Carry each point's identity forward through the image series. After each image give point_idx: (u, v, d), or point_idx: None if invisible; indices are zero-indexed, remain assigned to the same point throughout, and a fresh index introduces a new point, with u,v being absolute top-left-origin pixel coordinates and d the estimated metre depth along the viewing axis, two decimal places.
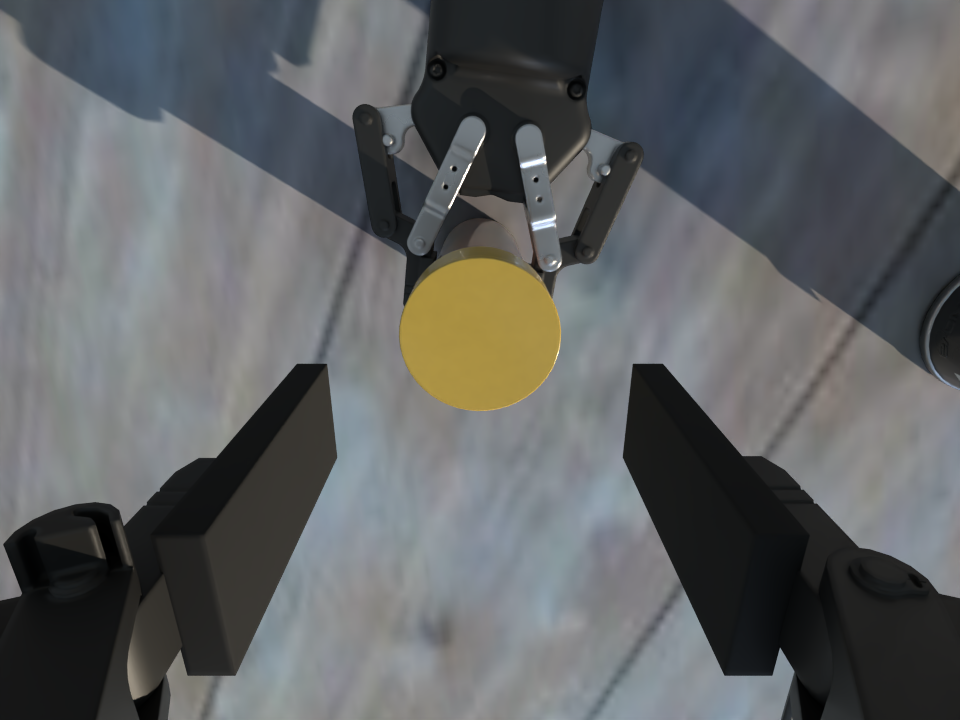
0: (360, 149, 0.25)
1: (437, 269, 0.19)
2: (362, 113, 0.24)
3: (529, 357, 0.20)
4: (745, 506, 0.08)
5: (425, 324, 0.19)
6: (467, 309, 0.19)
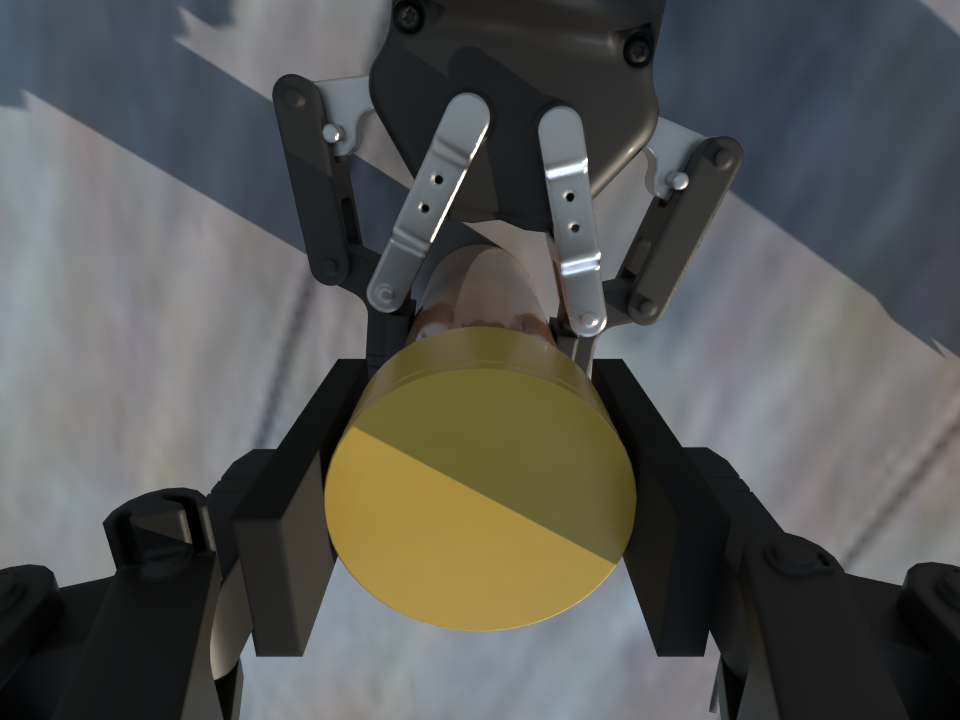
0: (287, 148, 0.16)
1: (394, 390, 0.09)
2: (287, 89, 0.15)
3: (574, 545, 0.10)
4: (674, 493, 0.08)
5: (373, 490, 0.10)
6: (455, 463, 0.10)
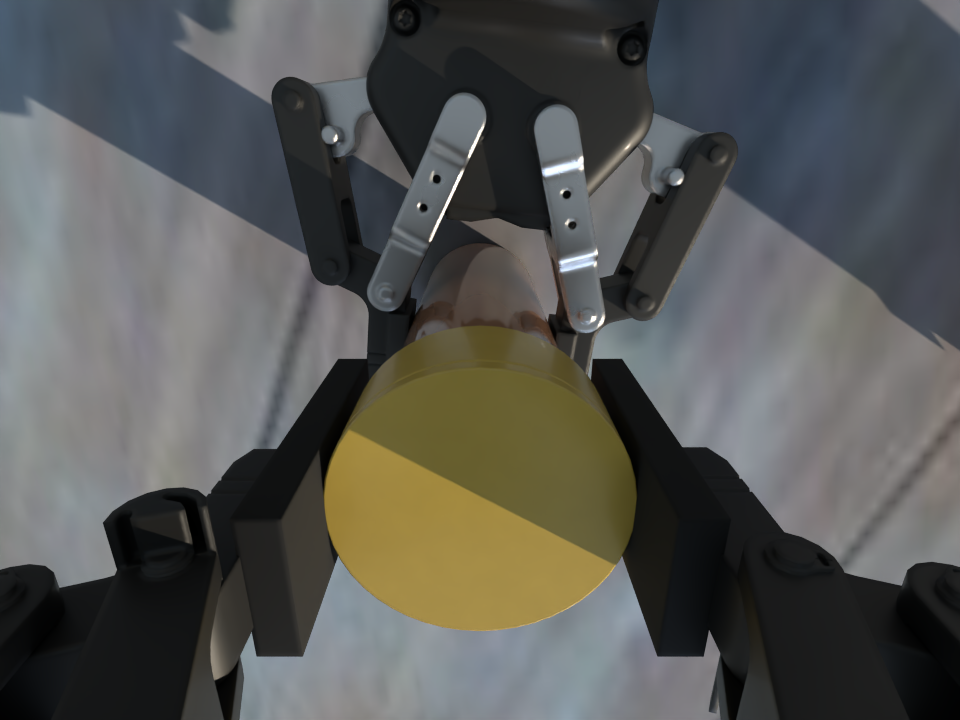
0: (287, 150, 0.16)
1: (447, 624, 0.11)
2: (286, 92, 0.15)
3: (434, 429, 0.09)
4: (674, 492, 0.08)
5: (532, 586, 0.11)
6: (457, 560, 0.11)
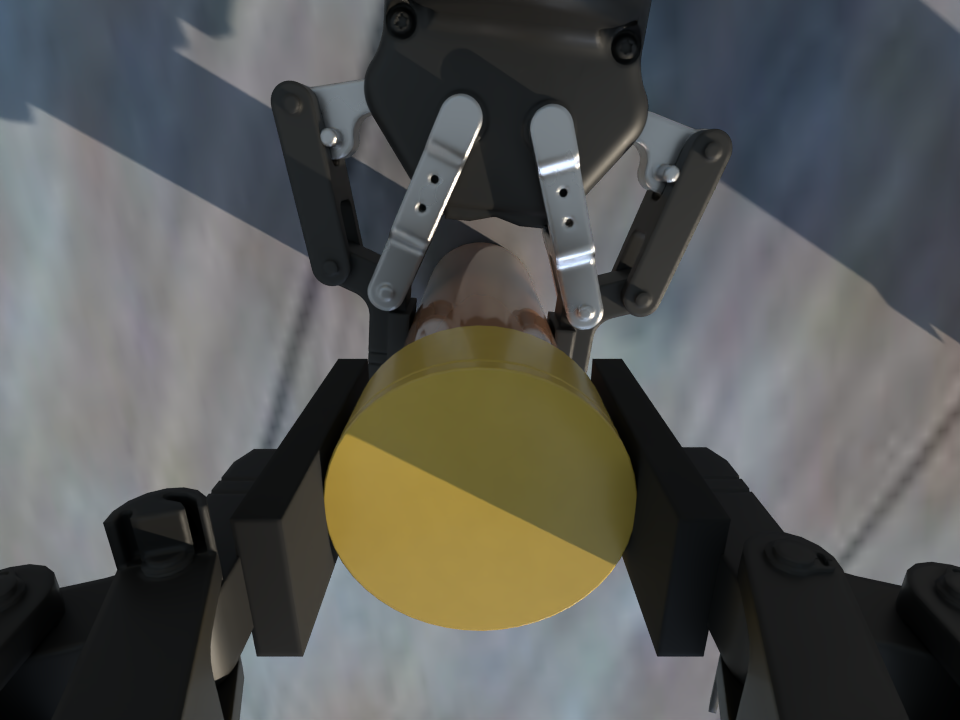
0: (286, 153, 0.16)
1: (617, 436, 0.10)
2: (285, 95, 0.15)
3: (447, 589, 0.11)
4: (674, 492, 0.08)
5: (506, 418, 0.09)
6: (538, 491, 0.10)
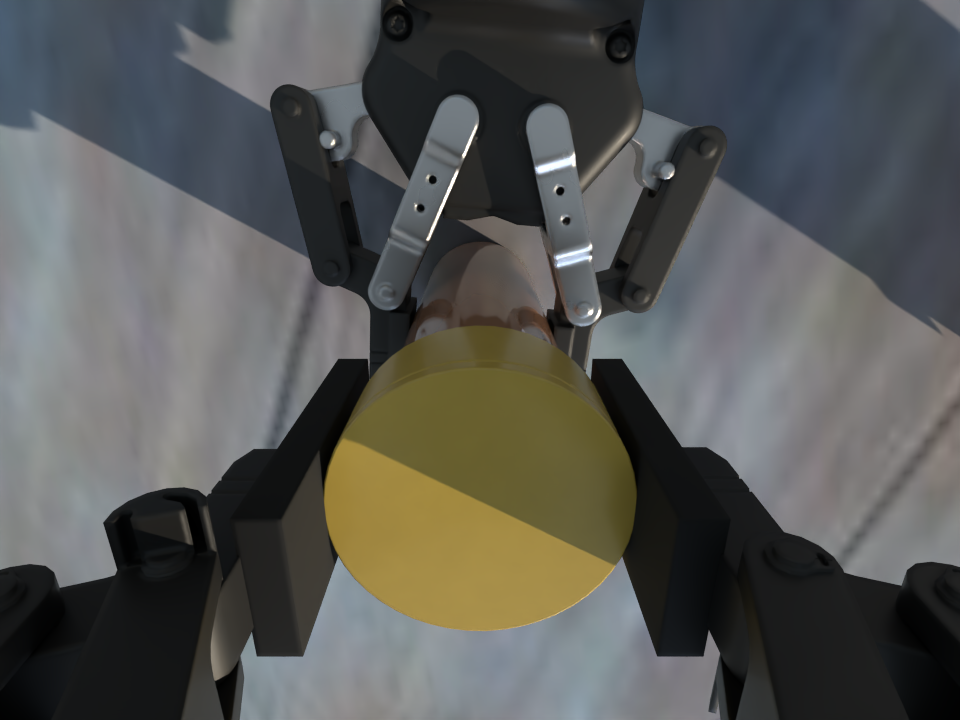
0: (286, 155, 0.16)
1: (325, 486, 0.10)
2: (284, 99, 0.16)
3: (576, 473, 0.10)
4: (674, 492, 0.08)
5: (392, 561, 0.11)
6: (419, 496, 0.10)
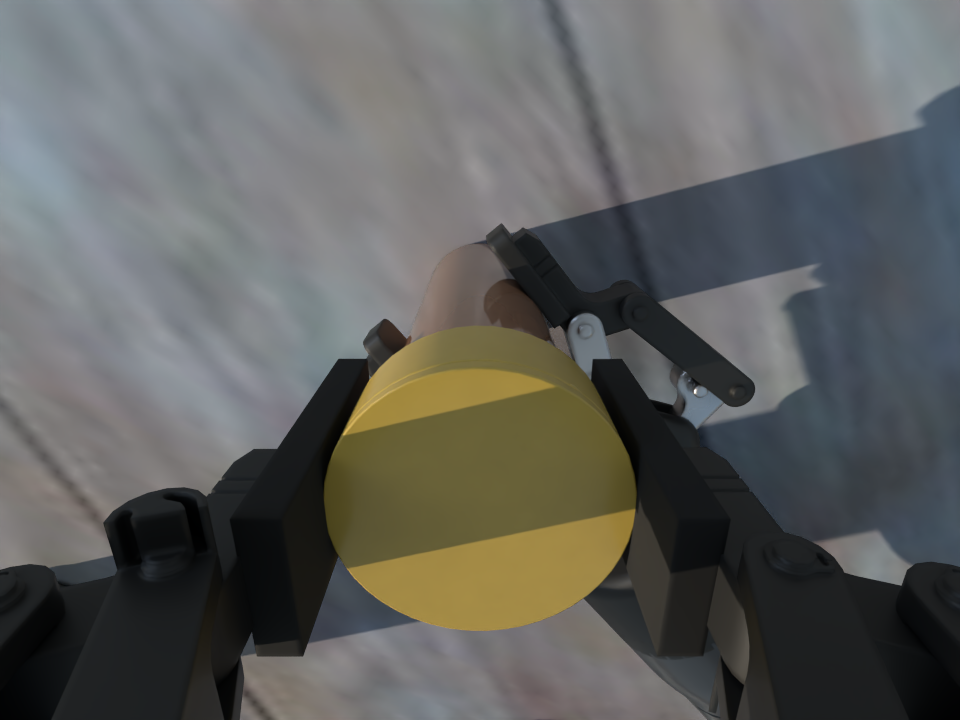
0: (723, 361, 0.19)
1: (325, 485, 0.10)
2: (745, 394, 0.19)
3: (576, 473, 0.10)
4: (674, 492, 0.08)
5: (392, 561, 0.11)
6: (419, 496, 0.10)
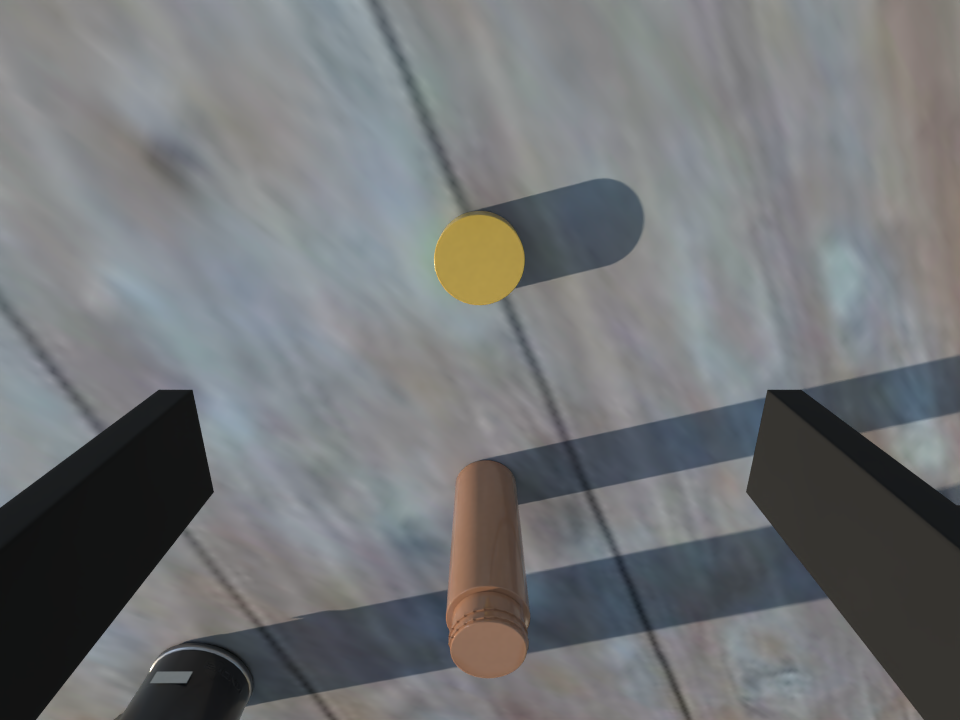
0: None
1: (435, 252, 0.35)
2: None
3: (506, 247, 0.35)
4: None
5: (453, 278, 0.35)
6: (462, 255, 0.35)
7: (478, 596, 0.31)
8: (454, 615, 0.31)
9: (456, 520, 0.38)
